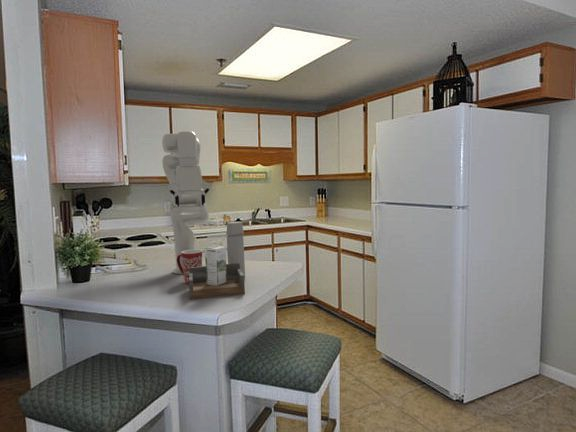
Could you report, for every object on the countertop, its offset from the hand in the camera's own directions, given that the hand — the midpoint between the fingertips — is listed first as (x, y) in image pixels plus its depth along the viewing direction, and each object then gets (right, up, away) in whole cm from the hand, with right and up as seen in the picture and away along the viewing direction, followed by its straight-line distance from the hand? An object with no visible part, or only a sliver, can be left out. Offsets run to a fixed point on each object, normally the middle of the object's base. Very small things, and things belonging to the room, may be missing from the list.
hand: (190, 205), depth 159 cm
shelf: (+12, -34, -7) cm, 36 cm away
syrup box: (+12, -31, -7) cm, 34 cm away
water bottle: (+18, -32, +11) cm, 38 cm away
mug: (-3, -33, +10) cm, 34 cm away
